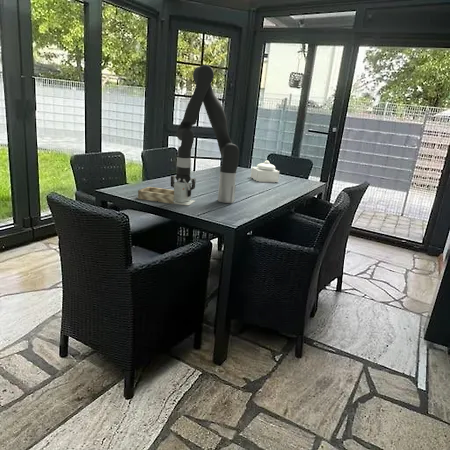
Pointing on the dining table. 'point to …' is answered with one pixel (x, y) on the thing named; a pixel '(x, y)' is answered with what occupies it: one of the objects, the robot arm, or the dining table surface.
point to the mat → (185, 202)
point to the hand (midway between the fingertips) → (182, 195)
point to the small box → (181, 192)
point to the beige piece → (157, 194)
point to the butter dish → (265, 172)
